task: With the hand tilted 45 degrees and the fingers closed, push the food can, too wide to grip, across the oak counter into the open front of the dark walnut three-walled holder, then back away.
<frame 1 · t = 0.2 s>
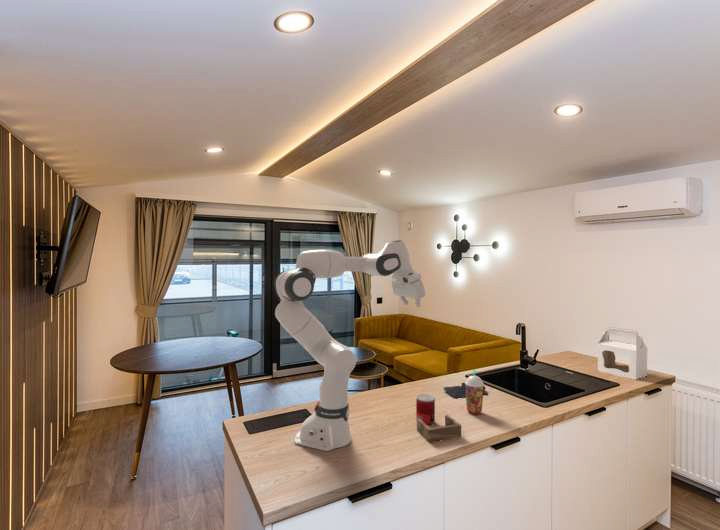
hand: (411, 305, 168), 51 cm above the worktop, tool tilted 20°, fingers open, 8 cm apart
gable box: (621, 374, 237), on the worktop
dark slate chunk: (465, 393, 205), on the worktop
holder: (437, 433, 158), on the worktop
canned food: (425, 422, 168), on the worktop
smoothie: (474, 413, 178), on the worktop
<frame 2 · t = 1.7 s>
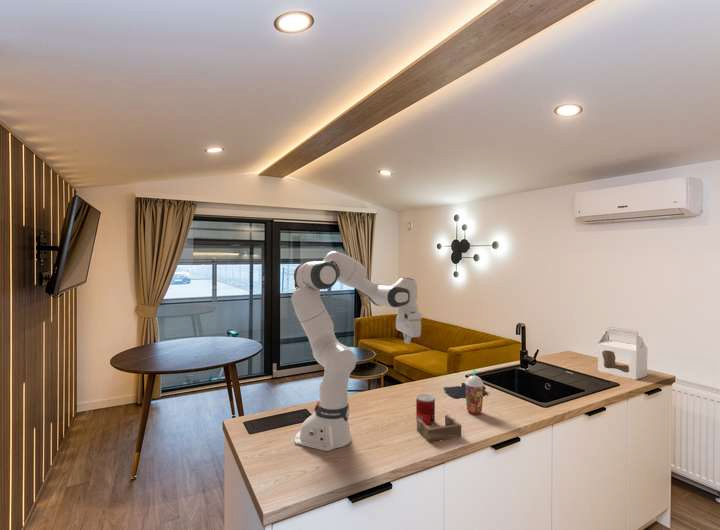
hand: (407, 343, 175), 33 cm above the worktop, tool pointing down, fingers closed
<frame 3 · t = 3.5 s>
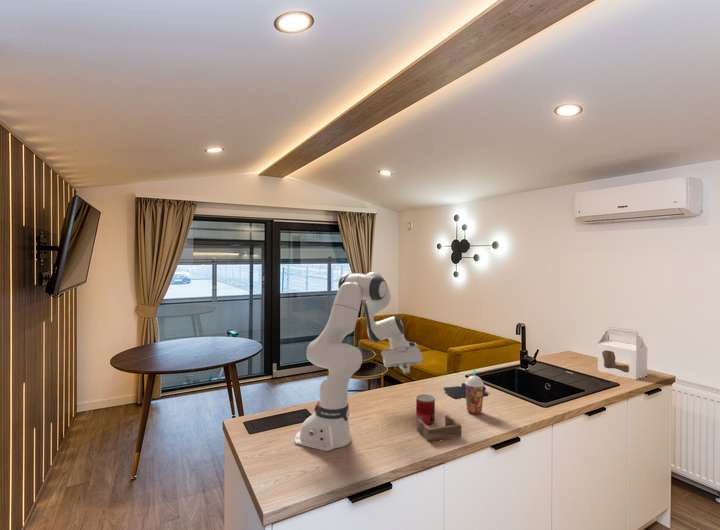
hand: (406, 372, 188), 16 cm above the worktop, tool tilted 45°, fingers closed
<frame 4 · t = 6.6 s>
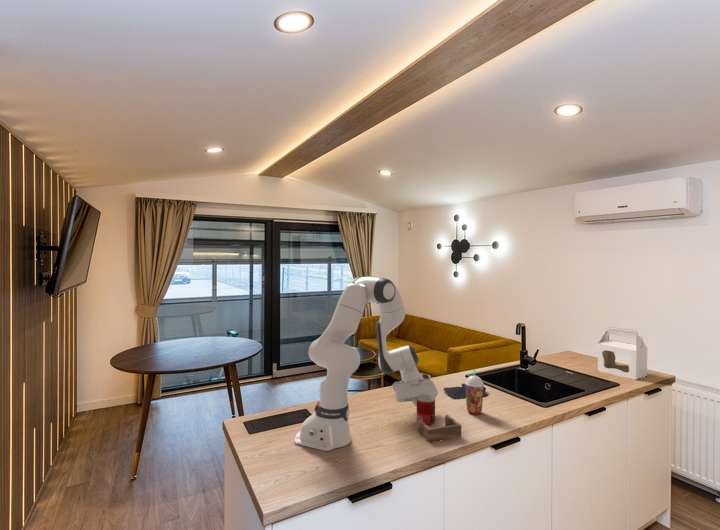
hand: (421, 408, 172), 4 cm above the worktop, tool tilted 45°, fingers closed, pressing on canned food
canned food: (425, 422, 168), on the worktop, touching gripper
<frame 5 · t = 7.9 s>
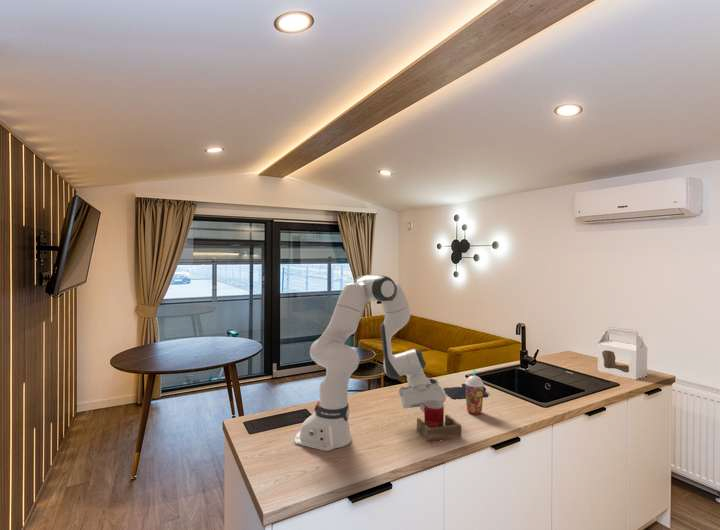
hand: (428, 415, 165), 4 cm above the worktop, tool tilted 45°, fingers closed, pressing on canned food
canned food: (433, 430, 161), on the worktop, touching gripper
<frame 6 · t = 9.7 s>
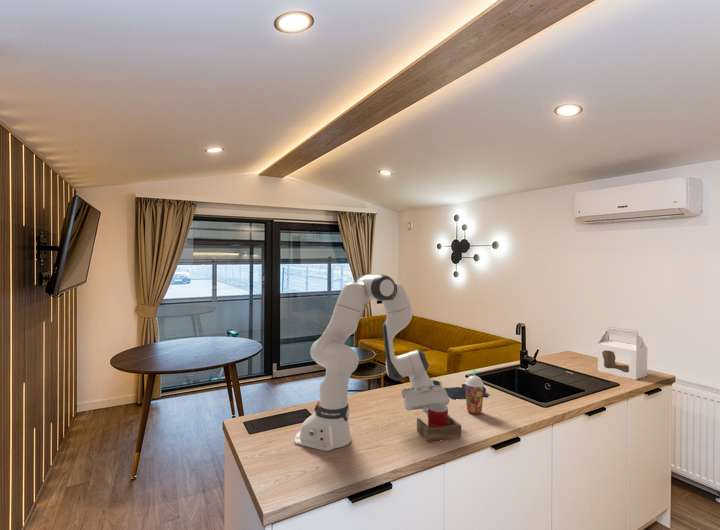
hand: (432, 417, 162), 5 cm above the worktop, tool tilted 45°, fingers closed
canned food: (437, 433, 158), on the worktop
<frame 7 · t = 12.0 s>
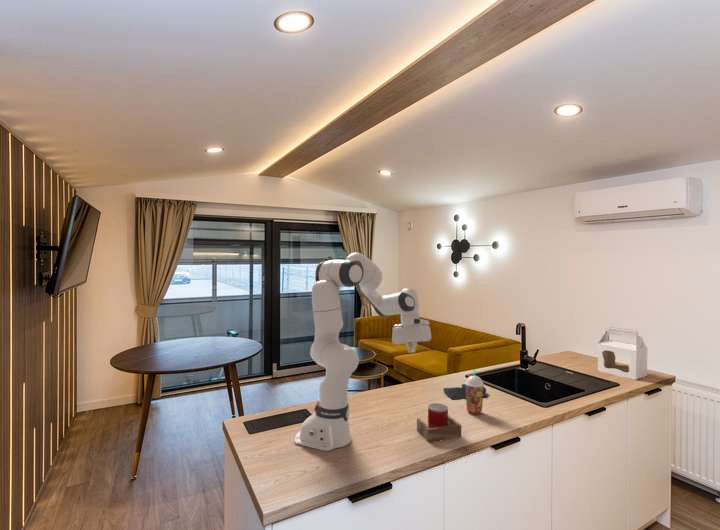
hand: (411, 352, 178), 28 cm above the worktop, tool tilted 20°, fingers closed
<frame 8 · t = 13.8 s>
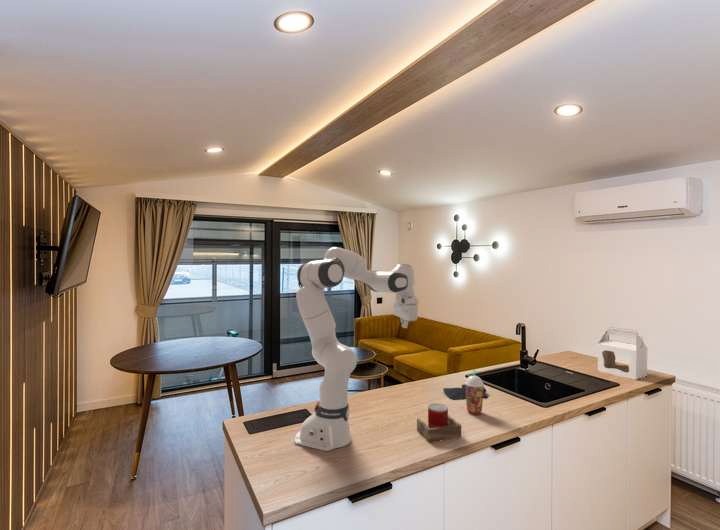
hand: (404, 327, 181), 39 cm above the worktop, tool pointing down, fingers closed
at the end: canned food 0.1 cm from the holder (horizontally); canned food tilted 0° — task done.
